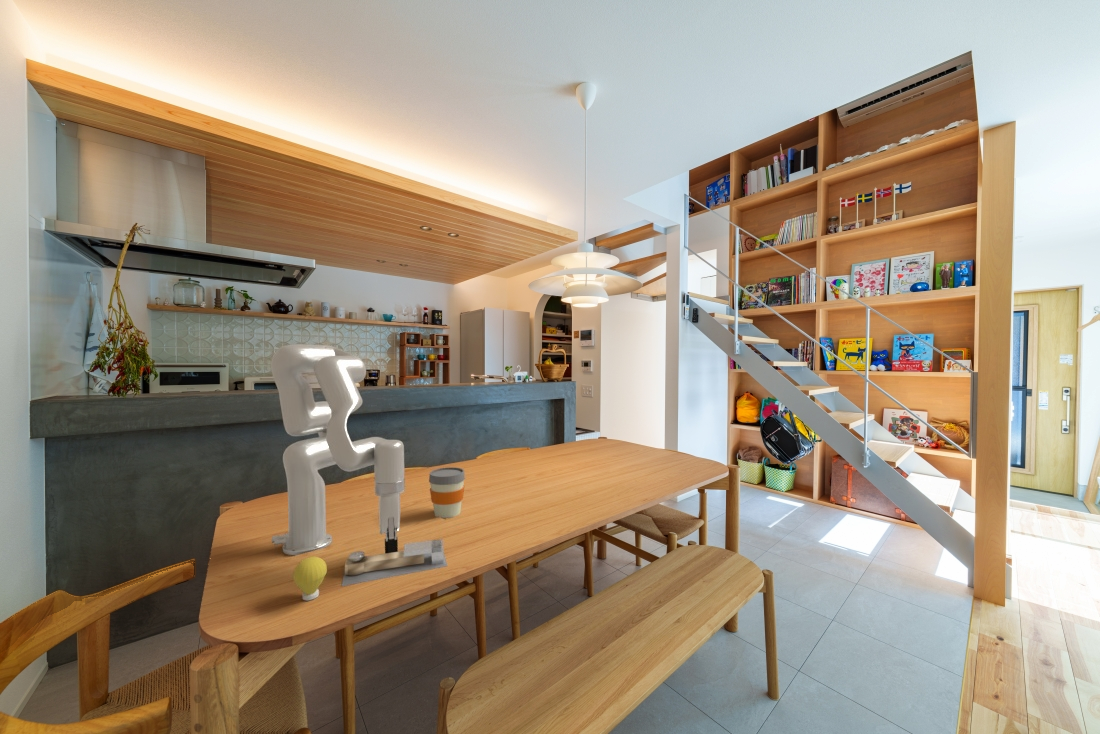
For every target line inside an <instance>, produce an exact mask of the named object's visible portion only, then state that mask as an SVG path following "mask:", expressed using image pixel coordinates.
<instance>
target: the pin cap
mask: <svg viewBox="0 0 1100 734" xmlns="http://www.w3.org/2000/svg"><path fill="white" fill-rule="evenodd" d="M364 556H365V551H361V550H359V551H357V550H356V551H353V552H352V553H350V554H349V555H348V559H350V560H351V561H352V562H358V561H361V560H362V557H364Z"/></svg>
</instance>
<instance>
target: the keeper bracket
mask: <svg viewBox="0 0 1100 734" xmlns="http://www.w3.org/2000/svg"><path fill="white" fill-rule="evenodd" d="M403 545H404V547H403V551H404V557H406V556H414V555H421V554H428V553H432V565H435V564H442V563H443V551H444V539H443V538H440V539H439V538H438V539H432V540H424V541H417V542H416V541H415V542H408V543H404V544H403Z"/></svg>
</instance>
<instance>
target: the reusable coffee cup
mask: <svg viewBox="0 0 1100 734" xmlns="http://www.w3.org/2000/svg"><path fill="white" fill-rule="evenodd" d="M428 477H429V479H428V482H429V483H430V487H429V493H430V499H431V503H432V505H433V511H434V516H435V517H436V518H441V519H449V518H450V519H451V518H454V517H457V516H458V515H460V514H461V510H462V509H461V508H462V500H463V499H464V494H465V493H464V491H465V483H464V482H465V480H466V477H465V470H464V468H461V467H454V466H452V467H451V466H450V467H440V468H436V469H434V470H431V471H430V472H429V476H428Z"/></svg>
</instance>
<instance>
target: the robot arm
mask: <svg viewBox="0 0 1100 734" xmlns="http://www.w3.org/2000/svg"><path fill="white" fill-rule="evenodd" d="M270 368H271V369H270V371H271V373H272V378H273V381H274V383H275V386H276V387H277V388H276V389H277V391H278V395H279V402H280V403H279V404H280V409H281V415H282V421H283V427H284V430H285V432H286V433H287V434H288V435H289V436H291V437H303V436H309V435H314V434H318V437H313V438H308V439H307V438H306V439H304V440H303V439H302V440H299V441H296V442H293V443H292V444H290V445H289V446H287V447H286V448H285V450H284V451H283V455H282V463H283V467H284V470H285V476H286V484H287V512H288V513H287V514H288V516H287V518H288V532H286V533H284V534H279V535H272V536H271V543H272V544H274V546H277V545H282V544H283V546H282V552H283V553H284V554H285V555H289V556H299V555H303V554H306V553H310V552H314V551H318V550H321V549H325V548H327V547H328V546H330V544H331V543H332V541H333V537H332V536H333V535H331V534H330V533H328V532H327V524H326V523H327V520H326V519H327V517H326V516H327V515H326V514H327V513H326V512H327V510H326V483H325V480H324V479H323V477H322V476H321V474H320V473H319V471H318V470H322V469H324V468H328V467H330V466H334V465H336V466H338V468H340V469H341V470H342V471H344V472H354V471H358V470H361V469H364V468H367V467H369V466H374V467H373V468H374V495H376V496H378V518H379V520H378V521H379V522H378V523H379V534H380V535H383V534H385V538H384V554H385V553H392V552H398V550H399V549H398V548H399V547H398V545H399V543H398V541H399V540H398V539H399V538H398V534H397V532H399V531H400V526H401V523H400V522H401V494H403V493H404V492H405V488H406V484H405V483H406V482H405V479H406V478H405V445H404V443H403V441H401V440H399V439H386V438H384V437H380V436H371V437H366V438H363V439H362V438H361V439H358V440H354V441H352V440H351V438H350V435H349V432H348V429H347V423H348V419H349V417H350V415H351V414H353V413H354V412H355V411H357V410H359V408H360V407H361V406H362V405H363V402H364V401H363V398H362V396H361V394H360V391H359V389H358V387H357V385H356V384H358V383H361V382H362V381H363V380H364V379H365V377H366V375H367V367H366V365H365V363H364V361H363V360H362V359H361V358H360V357H359V356H357V355H355V354H352V353H351V352H348V351H345V350H343V349H341V348H338V347H336V346H334V345H327V344H326V345H325V344H309V343H308V344H305V343H294V344H287V345H283V346H281V347H279V348H278V349H277V350H275V352H274V354H273V356H272V357H271V362H270ZM306 373H308V374H309V373H311V374H312V373H313V374H314V376H315V379H316V381H317V383H318V385H319V387H320V390H321V392H322V395H323V396H324V399H325V401H315V397H314V393H313V391H314V390H313V388H312V386H311V383H310V382H309V381H308V380H307V379H306V378H305V377H304V376H303V375H302V374H306Z"/></svg>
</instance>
